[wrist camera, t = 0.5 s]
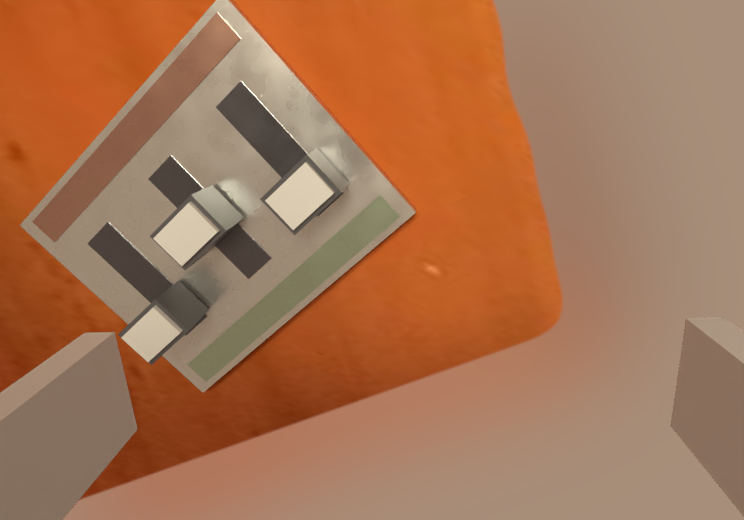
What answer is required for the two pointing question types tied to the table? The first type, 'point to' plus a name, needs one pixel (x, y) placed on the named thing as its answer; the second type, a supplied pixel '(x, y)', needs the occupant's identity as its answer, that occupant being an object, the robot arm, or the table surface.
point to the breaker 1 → (196, 226)
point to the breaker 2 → (163, 322)
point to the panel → (231, 178)
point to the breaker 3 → (304, 191)
